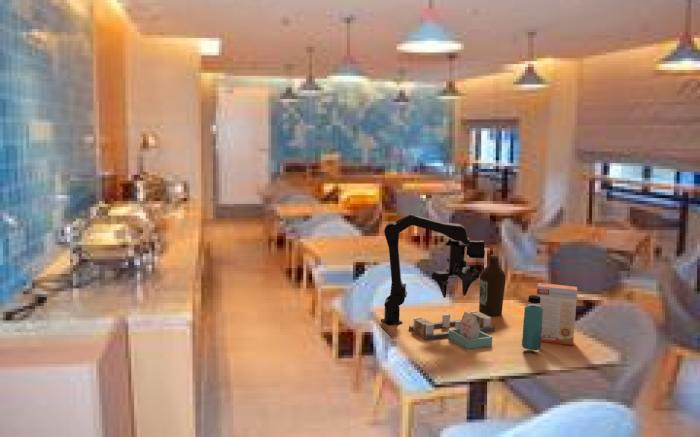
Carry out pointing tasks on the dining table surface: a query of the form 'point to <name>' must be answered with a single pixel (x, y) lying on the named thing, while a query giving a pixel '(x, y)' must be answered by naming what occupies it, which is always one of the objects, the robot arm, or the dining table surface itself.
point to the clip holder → (448, 323)
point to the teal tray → (470, 344)
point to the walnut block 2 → (480, 318)
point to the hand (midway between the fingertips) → (454, 296)
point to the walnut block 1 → (421, 326)
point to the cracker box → (557, 312)
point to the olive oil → (492, 288)
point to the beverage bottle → (532, 324)
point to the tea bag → (469, 326)
